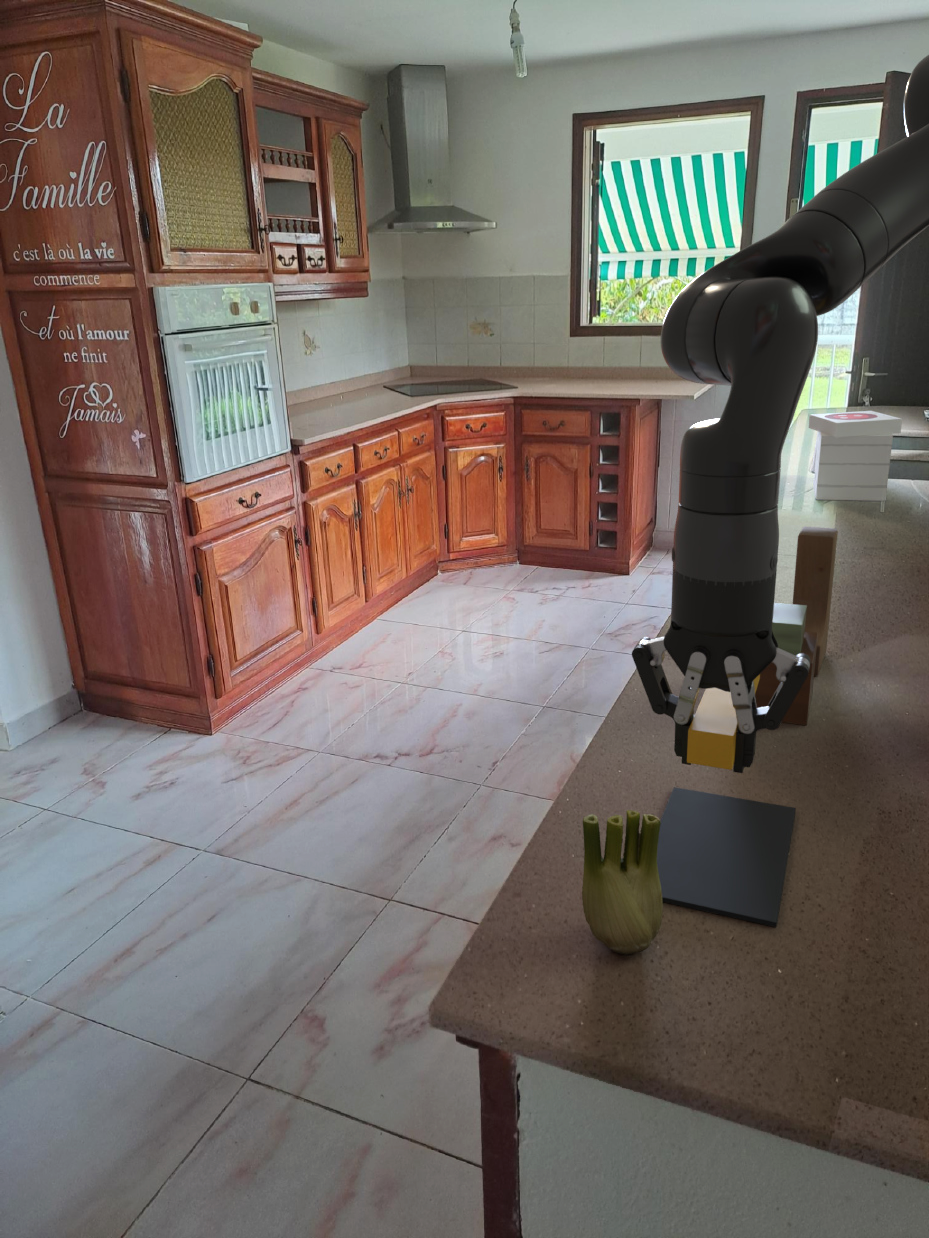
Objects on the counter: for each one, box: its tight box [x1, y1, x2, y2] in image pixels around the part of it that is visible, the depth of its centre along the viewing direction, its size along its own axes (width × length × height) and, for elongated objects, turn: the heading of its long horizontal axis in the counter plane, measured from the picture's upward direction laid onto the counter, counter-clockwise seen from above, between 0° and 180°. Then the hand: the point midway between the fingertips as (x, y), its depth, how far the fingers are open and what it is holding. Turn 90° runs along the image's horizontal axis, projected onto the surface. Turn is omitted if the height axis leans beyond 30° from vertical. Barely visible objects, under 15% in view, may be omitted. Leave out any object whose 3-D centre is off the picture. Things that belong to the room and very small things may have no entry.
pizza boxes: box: [808, 410, 903, 502], centre depth 212 cm, size 19×30×18 cm, turn 162°
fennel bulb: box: [581, 809, 664, 955], centre depth 70 cm, size 6×5×12 cm
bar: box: [687, 674, 760, 771], centre depth 77 cm, size 18×4×3 cm, turn 156°
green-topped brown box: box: [755, 602, 818, 726], centre depth 108 cm, size 10×10×12 cm
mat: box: [657, 786, 797, 928], centre depth 82 cm, size 18×12×1 cm, turn 156°
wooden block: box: [792, 526, 839, 677], centre depth 117 cm, size 9×4×18 cm, turn 153°
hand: (713, 763), depth 72 cm, fingers closed on bar, 3 cm apart
